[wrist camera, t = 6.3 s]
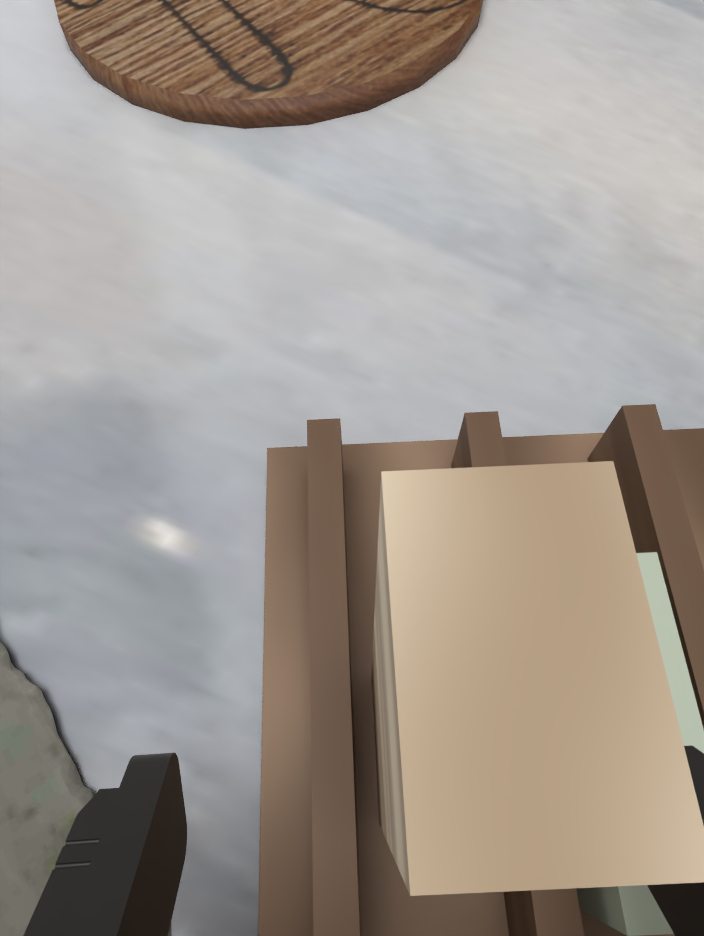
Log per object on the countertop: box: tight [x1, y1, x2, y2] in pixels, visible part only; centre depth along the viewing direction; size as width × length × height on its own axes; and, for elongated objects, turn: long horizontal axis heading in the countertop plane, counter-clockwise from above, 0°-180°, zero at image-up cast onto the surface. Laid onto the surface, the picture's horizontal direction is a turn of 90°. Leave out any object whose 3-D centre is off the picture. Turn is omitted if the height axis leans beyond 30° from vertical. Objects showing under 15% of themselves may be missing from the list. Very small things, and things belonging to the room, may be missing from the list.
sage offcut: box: [576, 552, 704, 936], centre depth 17 cm, size 3×8×4 cm, turn 3°
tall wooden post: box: [371, 461, 704, 896], centre depth 13 cm, size 3×4×14 cm, turn 2°
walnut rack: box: [258, 404, 704, 936], centre depth 18 cm, size 17×20×5 cm
